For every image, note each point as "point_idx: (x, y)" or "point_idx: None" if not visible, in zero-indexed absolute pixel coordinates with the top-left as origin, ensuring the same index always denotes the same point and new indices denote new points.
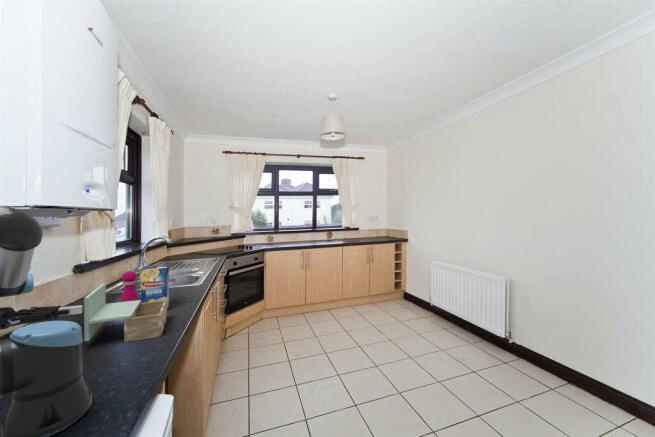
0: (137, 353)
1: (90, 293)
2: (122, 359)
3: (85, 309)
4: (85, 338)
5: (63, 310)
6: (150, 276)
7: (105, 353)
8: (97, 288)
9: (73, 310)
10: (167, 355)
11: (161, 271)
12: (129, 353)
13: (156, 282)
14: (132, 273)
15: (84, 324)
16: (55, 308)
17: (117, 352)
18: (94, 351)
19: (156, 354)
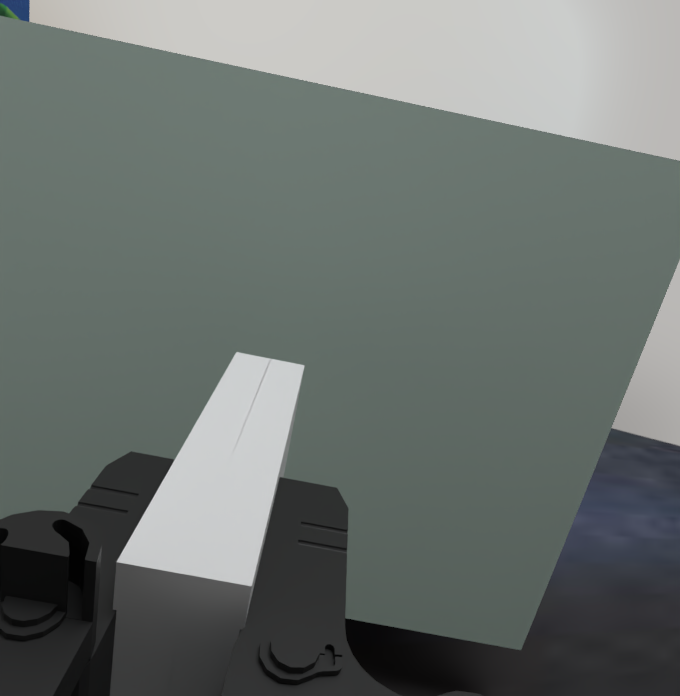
0: (595, 488)
1: (504, 124)
2: (657, 531)
3: (645, 326)
4: (529, 620)
5: (295, 543)
6: None
7: (584, 589)
8: (243, 68)
9: (282, 469)
10: (617, 432)
11: (6, 16)
12: (592, 508)
13: None
14: None
15: (580, 497)
16: (39, 680)
17: (576, 544)
18: (544, 645)
19: (608, 450)
